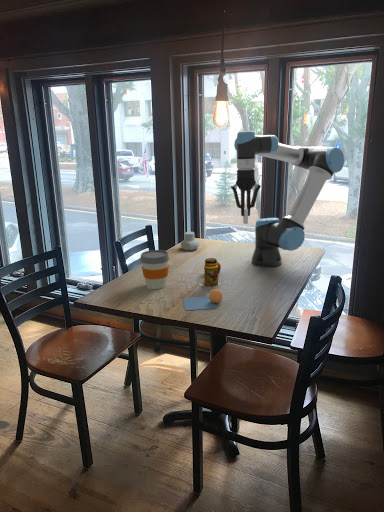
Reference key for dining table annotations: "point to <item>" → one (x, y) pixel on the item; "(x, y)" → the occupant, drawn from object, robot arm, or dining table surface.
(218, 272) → the fruit
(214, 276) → the condiment
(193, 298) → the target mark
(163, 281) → the reusable coffee cup
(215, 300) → the ball
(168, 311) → the dining table surface
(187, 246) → the air freshener
